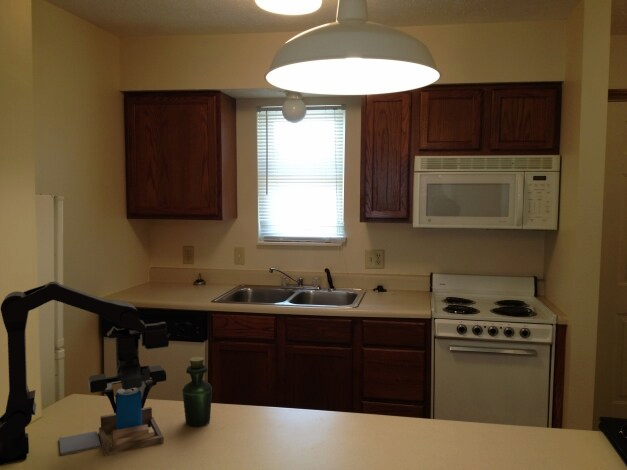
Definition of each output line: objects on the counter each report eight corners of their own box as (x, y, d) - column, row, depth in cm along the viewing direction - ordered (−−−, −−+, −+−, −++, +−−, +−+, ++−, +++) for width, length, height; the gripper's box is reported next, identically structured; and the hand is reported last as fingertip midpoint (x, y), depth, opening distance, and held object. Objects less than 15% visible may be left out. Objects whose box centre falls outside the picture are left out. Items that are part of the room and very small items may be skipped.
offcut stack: (113, 451, 128) (112, 436, 127) (111, 445, 131) (110, 430, 131) (155, 442, 132) (154, 427, 132) (152, 436, 136) (151, 422, 135)
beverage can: (146, 429, 140) (145, 386, 139) (135, 440, 133) (134, 395, 132) (123, 428, 140) (122, 385, 139) (111, 439, 134) (110, 394, 133)
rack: (105, 455, 126) (104, 437, 125) (99, 432, 138) (98, 416, 137) (163, 442, 132) (163, 425, 132) (153, 422, 144) (152, 406, 144)
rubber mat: (60, 455, 126) (60, 453, 126) (59, 440, 134) (59, 438, 134) (100, 446, 130) (100, 445, 130) (96, 432, 138) (96, 430, 138)
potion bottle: (206, 429, 140) (205, 364, 138) (178, 427, 141) (176, 362, 140) (216, 417, 148) (215, 355, 146) (189, 415, 149) (188, 353, 148)
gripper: (91, 366, 124) (93, 429, 125) (170, 355, 132) (171, 414, 133) (87, 353, 133) (89, 412, 134) (161, 344, 142) (162, 399, 143)
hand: (128, 410), depth 136 cm, fingers closed on beverage can, 6 cm apart
